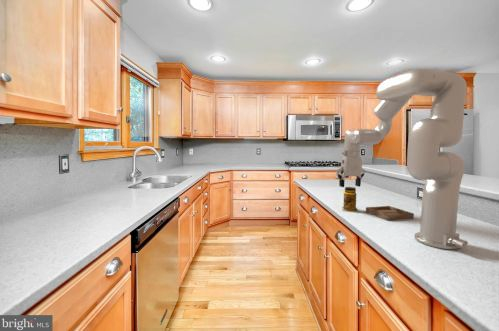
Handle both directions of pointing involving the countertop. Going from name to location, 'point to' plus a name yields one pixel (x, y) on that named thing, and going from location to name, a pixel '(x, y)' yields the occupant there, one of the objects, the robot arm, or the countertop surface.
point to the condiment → (350, 199)
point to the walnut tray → (389, 213)
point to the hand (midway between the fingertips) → (349, 186)
